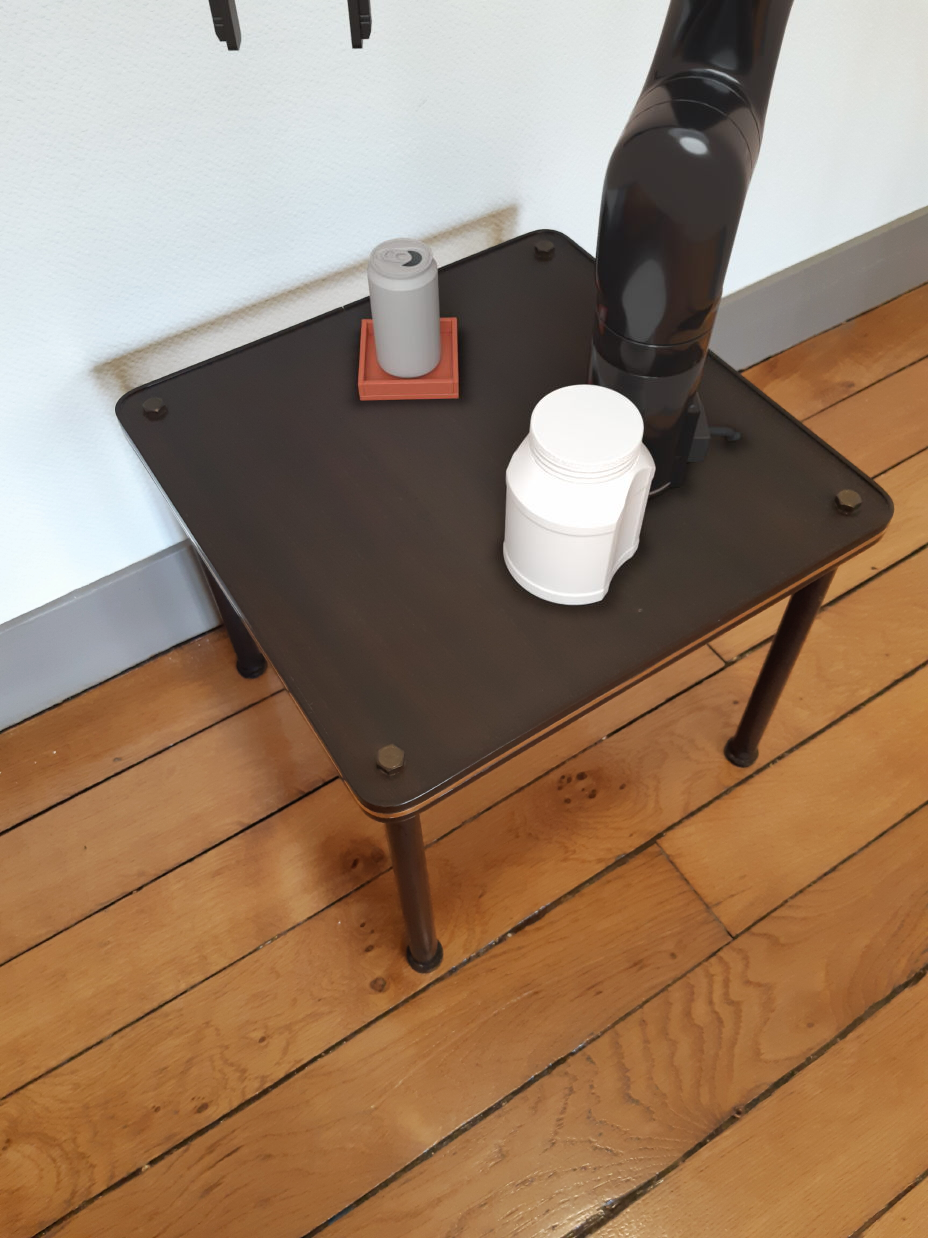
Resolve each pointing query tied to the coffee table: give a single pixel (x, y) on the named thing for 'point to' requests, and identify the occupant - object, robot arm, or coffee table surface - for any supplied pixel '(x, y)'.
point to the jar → (576, 494)
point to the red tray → (428, 386)
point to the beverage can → (405, 307)
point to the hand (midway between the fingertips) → (297, 44)
